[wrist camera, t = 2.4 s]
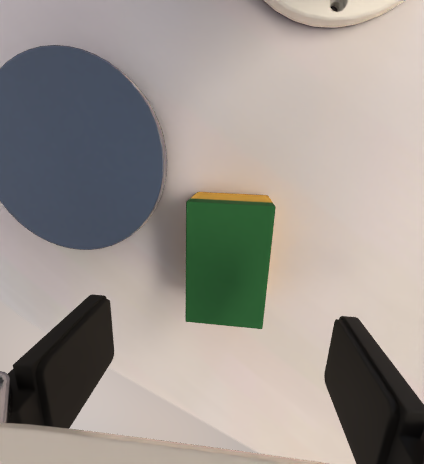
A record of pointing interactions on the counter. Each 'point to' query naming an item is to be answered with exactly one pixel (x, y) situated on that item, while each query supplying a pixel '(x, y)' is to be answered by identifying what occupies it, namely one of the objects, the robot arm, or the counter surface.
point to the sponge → (228, 258)
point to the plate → (77, 148)
